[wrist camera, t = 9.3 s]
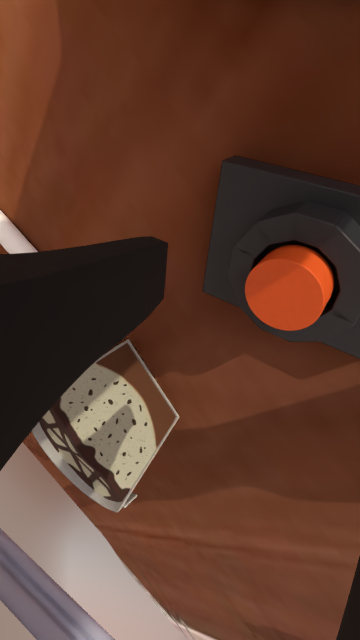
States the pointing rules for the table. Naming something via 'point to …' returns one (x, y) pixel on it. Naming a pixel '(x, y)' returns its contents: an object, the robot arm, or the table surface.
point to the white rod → (13, 237)
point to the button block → (287, 241)
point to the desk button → (289, 287)
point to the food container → (108, 427)
